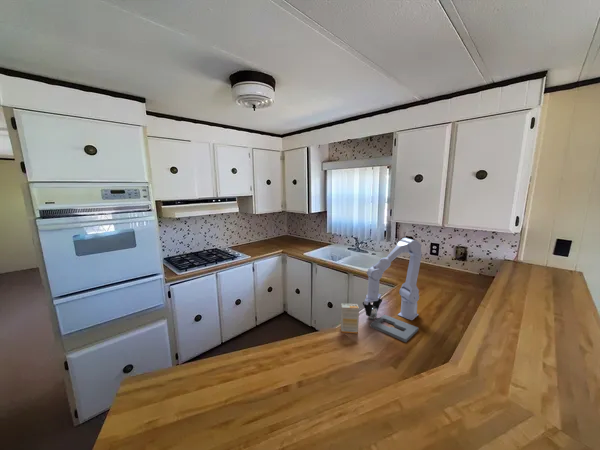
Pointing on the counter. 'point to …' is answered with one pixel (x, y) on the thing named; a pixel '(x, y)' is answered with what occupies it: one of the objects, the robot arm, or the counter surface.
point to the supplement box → (349, 318)
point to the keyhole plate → (403, 336)
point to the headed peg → (373, 313)
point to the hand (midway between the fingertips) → (371, 313)
